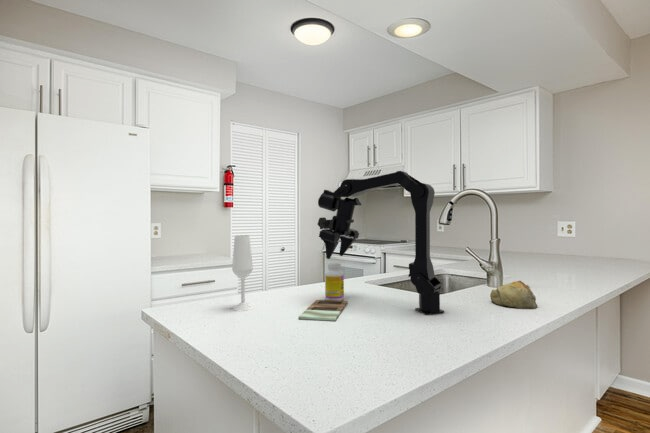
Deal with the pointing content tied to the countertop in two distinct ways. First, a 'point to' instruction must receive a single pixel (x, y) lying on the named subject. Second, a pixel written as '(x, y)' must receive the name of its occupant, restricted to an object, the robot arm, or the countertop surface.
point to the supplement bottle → (334, 282)
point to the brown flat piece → (324, 310)
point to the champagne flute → (242, 266)
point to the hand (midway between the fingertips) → (334, 257)
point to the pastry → (514, 296)
